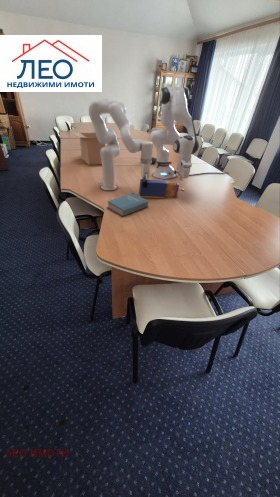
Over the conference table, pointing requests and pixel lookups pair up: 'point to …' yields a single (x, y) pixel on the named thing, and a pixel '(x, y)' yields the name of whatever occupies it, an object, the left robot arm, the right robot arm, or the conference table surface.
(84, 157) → the box
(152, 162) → the laser sight
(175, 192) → the drawer
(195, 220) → the conference table surface
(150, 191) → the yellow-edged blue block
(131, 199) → the book
